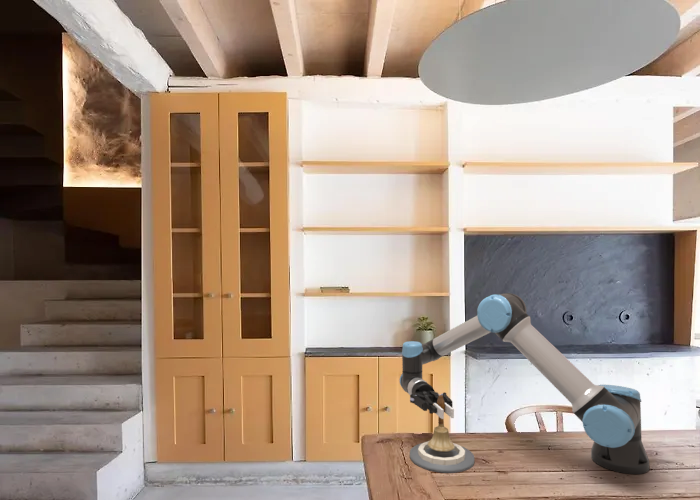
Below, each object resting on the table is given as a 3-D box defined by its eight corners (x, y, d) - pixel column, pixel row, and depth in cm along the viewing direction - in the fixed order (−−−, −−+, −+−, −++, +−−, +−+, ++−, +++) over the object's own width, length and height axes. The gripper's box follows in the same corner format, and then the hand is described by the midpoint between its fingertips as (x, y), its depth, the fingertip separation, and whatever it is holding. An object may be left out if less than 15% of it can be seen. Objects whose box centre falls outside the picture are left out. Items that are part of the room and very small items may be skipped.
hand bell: (452, 453, 132) (452, 400, 132) (425, 449, 135) (425, 397, 135) (456, 442, 140) (455, 392, 140) (430, 439, 142) (430, 390, 143)
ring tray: (476, 449, 143) (476, 441, 143) (472, 477, 124) (472, 468, 124) (416, 441, 150) (416, 433, 150) (403, 467, 131) (403, 458, 131)
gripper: (441, 400, 156) (471, 424, 133) (400, 403, 154) (423, 428, 130) (441, 379, 157) (471, 400, 133) (400, 382, 154) (423, 403, 131)
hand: (447, 414), depth 132 cm, fingers closed on hand bell, 3 cm apart
